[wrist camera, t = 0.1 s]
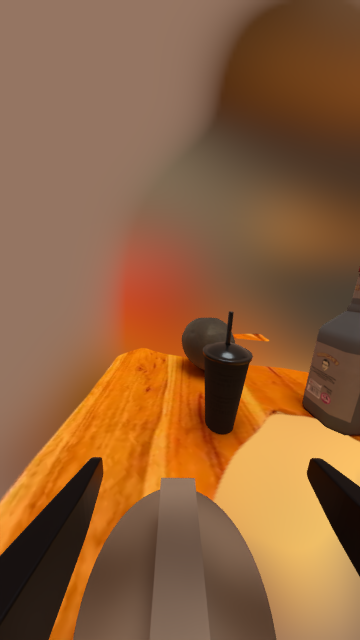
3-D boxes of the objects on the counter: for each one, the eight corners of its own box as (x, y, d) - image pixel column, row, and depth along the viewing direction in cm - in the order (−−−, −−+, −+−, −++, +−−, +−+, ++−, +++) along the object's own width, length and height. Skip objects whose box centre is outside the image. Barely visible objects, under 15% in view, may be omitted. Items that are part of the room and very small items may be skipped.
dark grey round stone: (219, 357, 57) (223, 313, 54) (241, 381, 43) (249, 324, 40) (177, 359, 54) (179, 312, 51) (187, 385, 41) (190, 324, 38)
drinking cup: (218, 451, 25) (233, 319, 21) (189, 416, 32) (195, 309, 27) (251, 429, 29) (269, 314, 25) (219, 402, 36) (229, 307, 31)
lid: (352, 928, 5) (406, 889, 4) (-15, 961, 5) (-62, 930, 4) (234, 495, 16) (240, 452, 15) (115, 495, 16) (112, 451, 15)
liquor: (335, 438, 28) (392, 243, 22) (294, 400, 37) (326, 254, 31) (384, 435, 29) (453, 247, 23) (332, 399, 38) (371, 257, 31)
